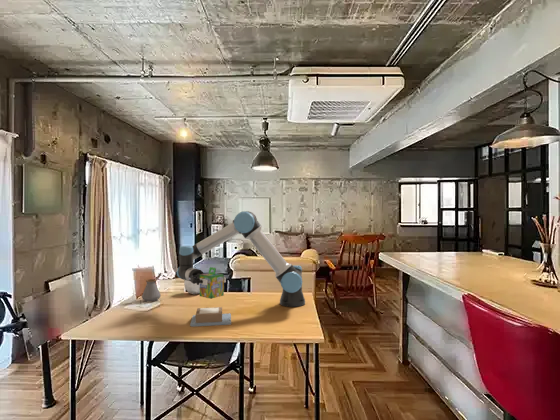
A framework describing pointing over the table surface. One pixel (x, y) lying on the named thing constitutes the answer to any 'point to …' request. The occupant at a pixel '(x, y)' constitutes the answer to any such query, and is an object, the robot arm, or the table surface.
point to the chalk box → (212, 284)
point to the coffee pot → (151, 290)
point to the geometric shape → (192, 287)
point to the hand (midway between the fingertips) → (216, 281)
